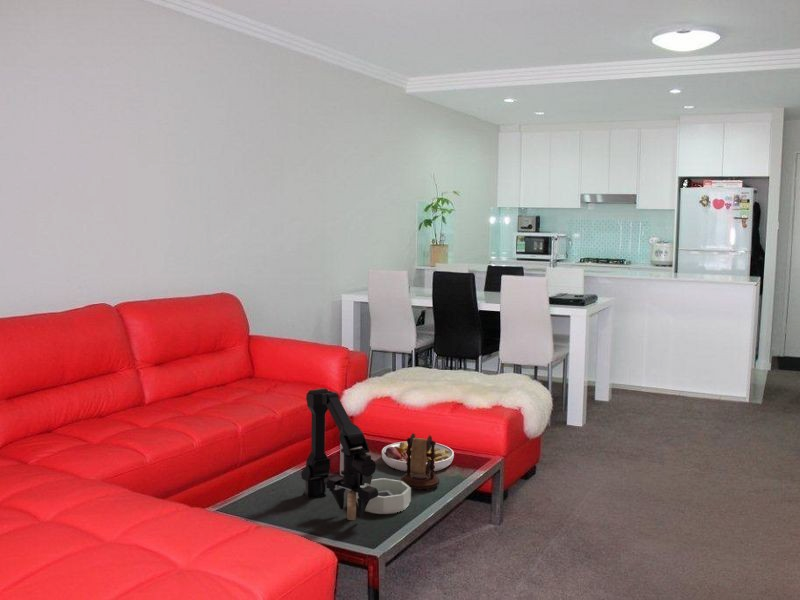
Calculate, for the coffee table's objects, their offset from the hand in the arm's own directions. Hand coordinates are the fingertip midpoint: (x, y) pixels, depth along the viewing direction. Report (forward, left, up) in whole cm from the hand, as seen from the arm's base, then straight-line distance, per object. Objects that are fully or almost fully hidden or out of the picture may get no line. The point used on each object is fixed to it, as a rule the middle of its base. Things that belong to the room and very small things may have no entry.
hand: (351, 512), depth 254 cm
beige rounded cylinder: (0, 0, -2) cm, 2 cm away
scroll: (+35, +20, -2) cm, 41 cm away
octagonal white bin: (+15, +8, -2) cm, 17 cm away
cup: (+15, +42, -2) cm, 45 cm away
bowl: (+46, +45, -3) cm, 64 cm away
